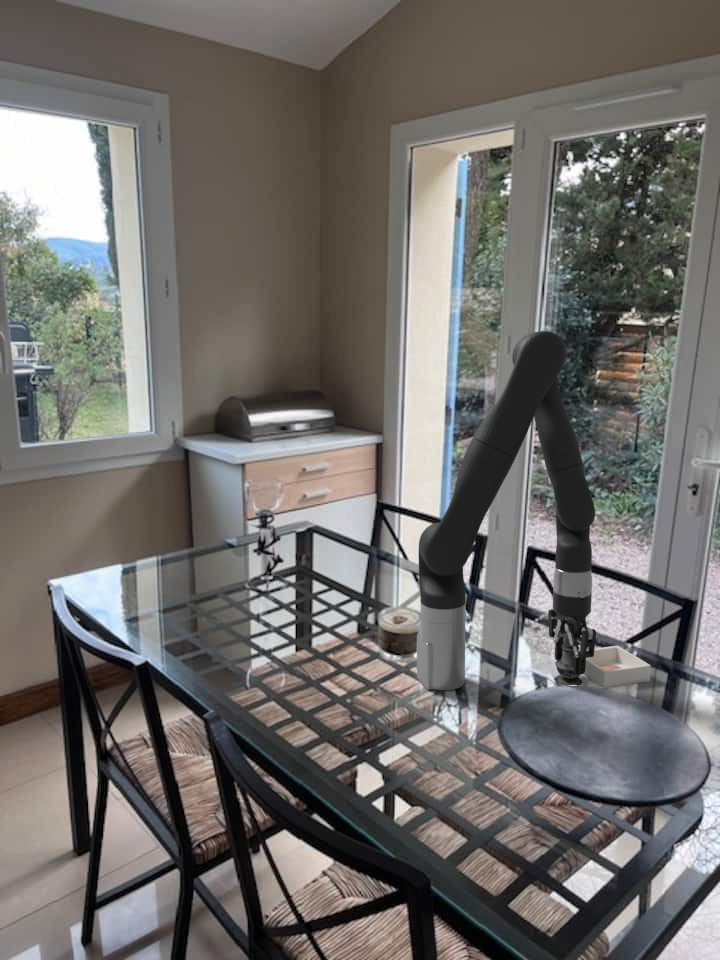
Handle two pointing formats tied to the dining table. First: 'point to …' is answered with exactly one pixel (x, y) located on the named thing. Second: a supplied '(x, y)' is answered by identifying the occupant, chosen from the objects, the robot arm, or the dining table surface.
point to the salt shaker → (567, 665)
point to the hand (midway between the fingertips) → (569, 666)
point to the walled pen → (616, 668)
